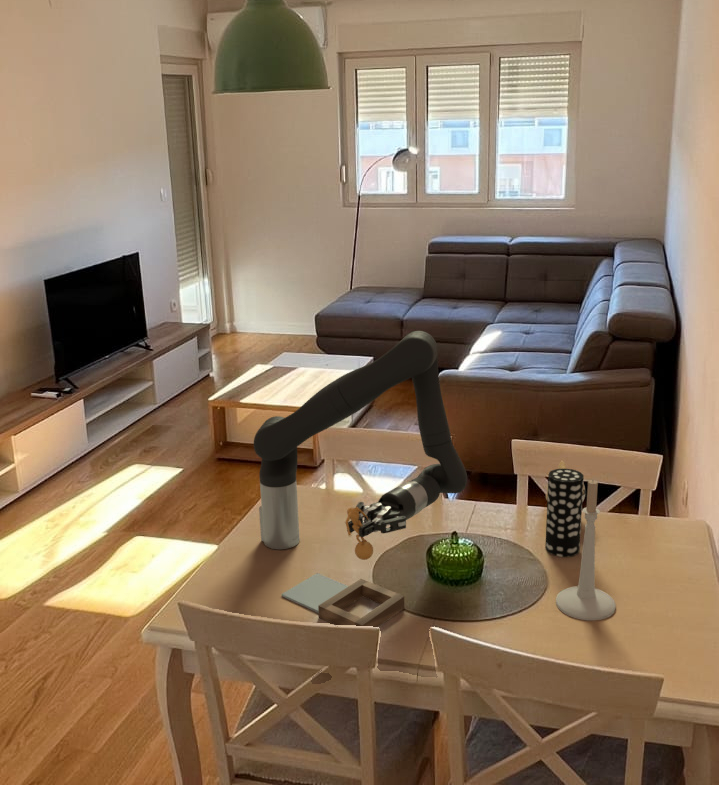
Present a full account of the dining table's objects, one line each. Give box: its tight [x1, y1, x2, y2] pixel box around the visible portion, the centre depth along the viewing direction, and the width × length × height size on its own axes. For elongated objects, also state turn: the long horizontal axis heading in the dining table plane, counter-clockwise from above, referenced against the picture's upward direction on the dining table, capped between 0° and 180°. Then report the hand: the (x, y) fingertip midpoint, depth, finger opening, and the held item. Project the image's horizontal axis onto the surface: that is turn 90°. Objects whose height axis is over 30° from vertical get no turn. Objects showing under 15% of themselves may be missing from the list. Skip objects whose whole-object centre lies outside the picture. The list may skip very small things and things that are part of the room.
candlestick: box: [555, 479, 617, 621], centre depth 186 cm, size 13×13×30 cm
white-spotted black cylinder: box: [544, 468, 585, 558], centre depth 212 cm, size 8×8×20 cm
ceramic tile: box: [281, 572, 350, 614], centre depth 197 cm, size 12×12×1 cm
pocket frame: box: [318, 578, 405, 628], centre depth 189 cm, size 12×14×3 cm
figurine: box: [344, 506, 374, 561], centre depth 183 cm, size 8×6×12 cm
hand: (354, 530), depth 182 cm, fingers closed on figurine, 2 cm apart
